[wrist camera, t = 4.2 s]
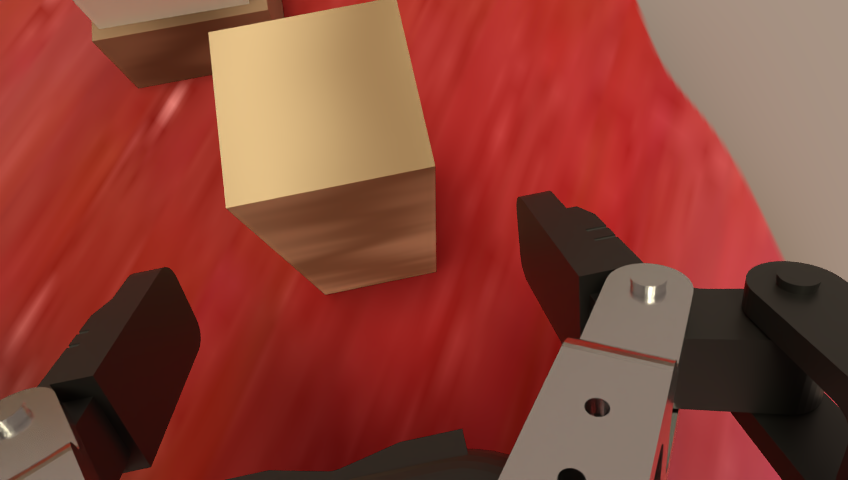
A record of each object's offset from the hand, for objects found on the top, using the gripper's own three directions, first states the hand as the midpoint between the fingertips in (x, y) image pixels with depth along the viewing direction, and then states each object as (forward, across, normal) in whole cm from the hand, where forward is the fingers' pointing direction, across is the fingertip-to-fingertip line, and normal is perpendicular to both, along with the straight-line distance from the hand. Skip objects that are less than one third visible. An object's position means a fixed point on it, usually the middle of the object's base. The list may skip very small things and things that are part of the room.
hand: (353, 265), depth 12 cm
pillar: (+9, 0, +3) cm, 9 cm away
